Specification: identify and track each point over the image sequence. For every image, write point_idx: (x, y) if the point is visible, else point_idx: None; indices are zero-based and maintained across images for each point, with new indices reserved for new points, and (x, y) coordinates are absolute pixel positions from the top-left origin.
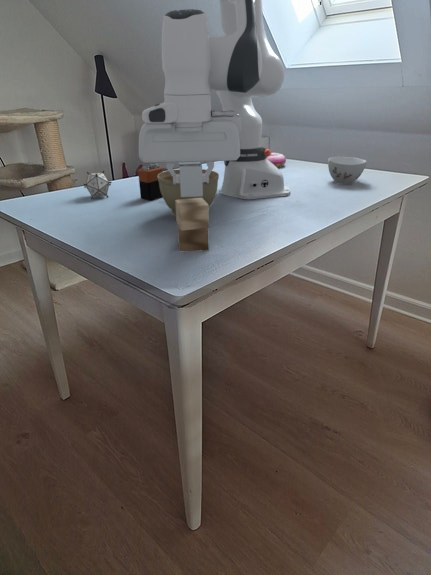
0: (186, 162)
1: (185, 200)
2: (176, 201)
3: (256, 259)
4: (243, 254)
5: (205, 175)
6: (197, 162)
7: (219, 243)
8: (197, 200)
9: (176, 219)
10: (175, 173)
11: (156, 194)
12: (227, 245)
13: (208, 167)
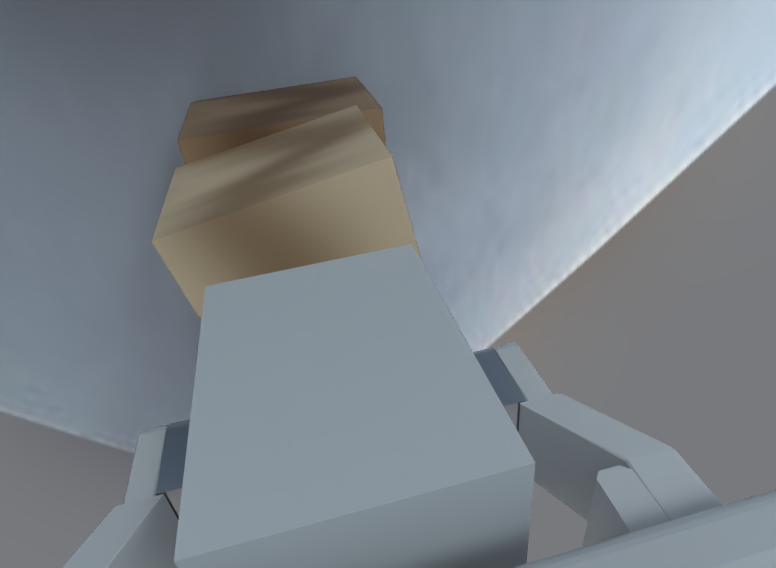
0: (303, 523)
1: (254, 251)
2: (180, 285)
3: (552, 284)
4: (516, 248)
5: None
6: (484, 490)
7: (425, 133)
8: (358, 243)
9: (173, 175)
10: (158, 505)
11: None
12: (462, 157)
13: (592, 461)
